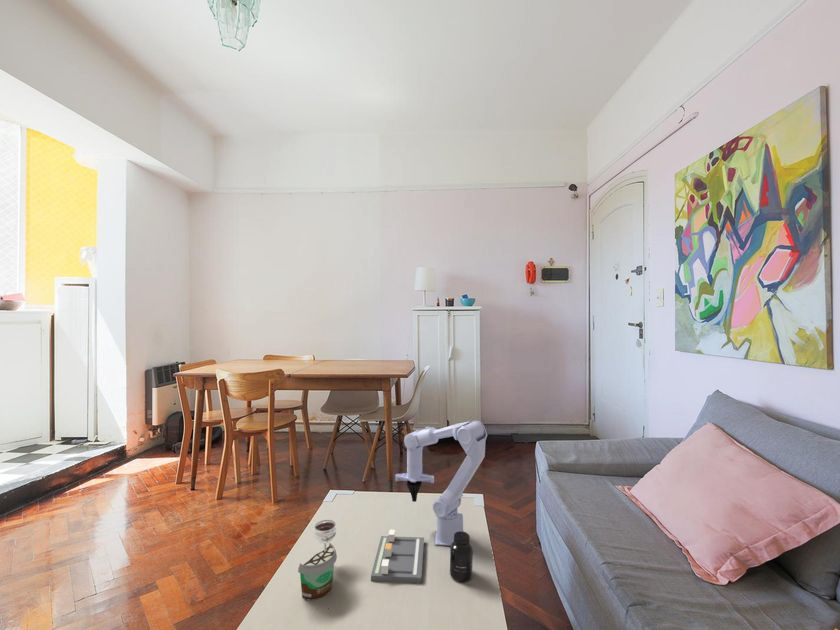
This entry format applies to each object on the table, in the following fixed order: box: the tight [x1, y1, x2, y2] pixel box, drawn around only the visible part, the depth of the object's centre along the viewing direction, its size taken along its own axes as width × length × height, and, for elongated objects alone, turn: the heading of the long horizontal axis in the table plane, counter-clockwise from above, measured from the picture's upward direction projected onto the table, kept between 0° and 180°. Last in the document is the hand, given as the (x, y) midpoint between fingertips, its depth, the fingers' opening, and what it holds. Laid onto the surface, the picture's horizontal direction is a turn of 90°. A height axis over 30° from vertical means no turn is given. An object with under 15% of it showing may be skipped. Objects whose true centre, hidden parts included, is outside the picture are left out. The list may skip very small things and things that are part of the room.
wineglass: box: [313, 519, 337, 550], centre depth 118 cm, size 7×7×12 cm
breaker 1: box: [381, 559, 389, 574], centre depth 112 cm, size 2×3×2 cm, turn 177°
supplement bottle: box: [449, 531, 474, 583], centre depth 113 cm, size 7×7×12 cm
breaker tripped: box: [385, 543, 392, 557], centre depth 120 cm, size 2×3×2 cm, turn 177°
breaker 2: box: [387, 529, 396, 542], centre depth 128 cm, size 2×3×2 cm, turn 177°
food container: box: [297, 542, 338, 601], centre depth 106 cm, size 12×6×10 cm, turn 148°
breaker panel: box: [370, 535, 425, 584], centre depth 120 cm, size 15×20×2 cm
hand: (414, 500), depth 140 cm, fingers closed
